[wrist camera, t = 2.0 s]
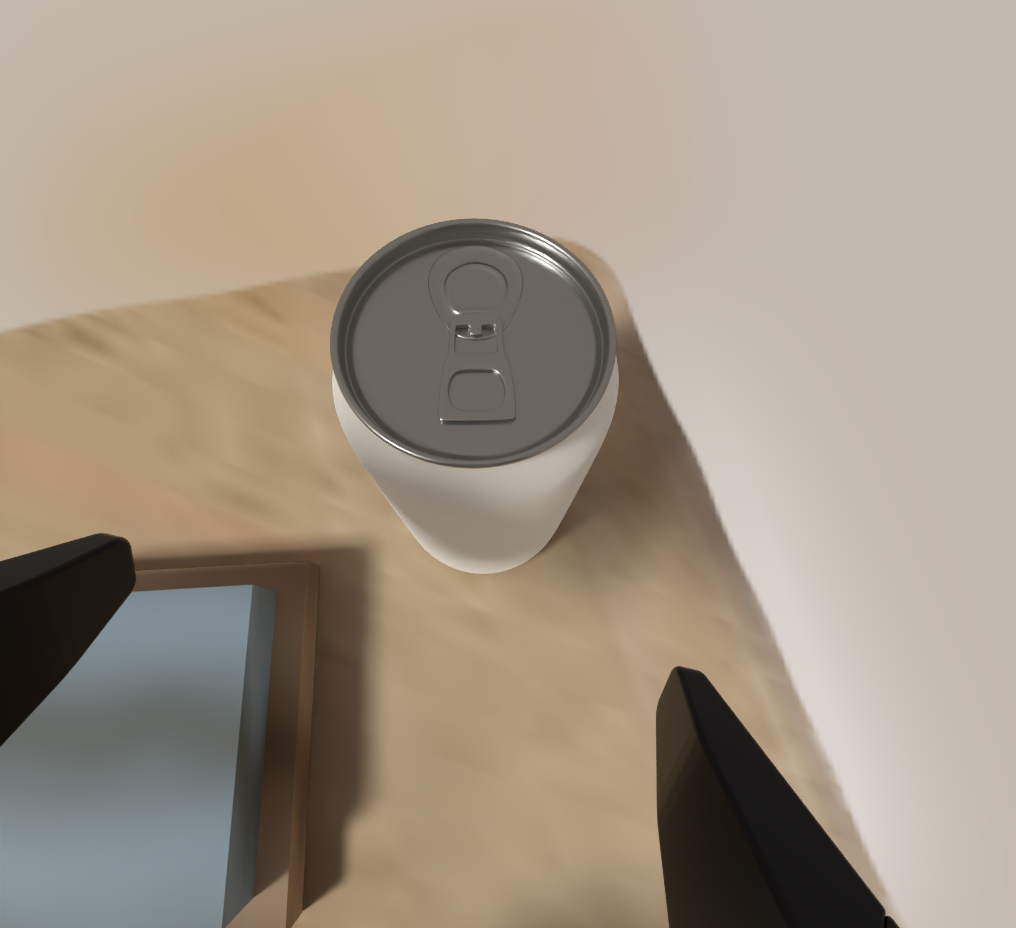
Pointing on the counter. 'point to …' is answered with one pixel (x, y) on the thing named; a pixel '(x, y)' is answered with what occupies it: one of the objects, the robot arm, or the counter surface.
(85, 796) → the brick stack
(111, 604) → the robot arm
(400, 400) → the can
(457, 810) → the counter surface
